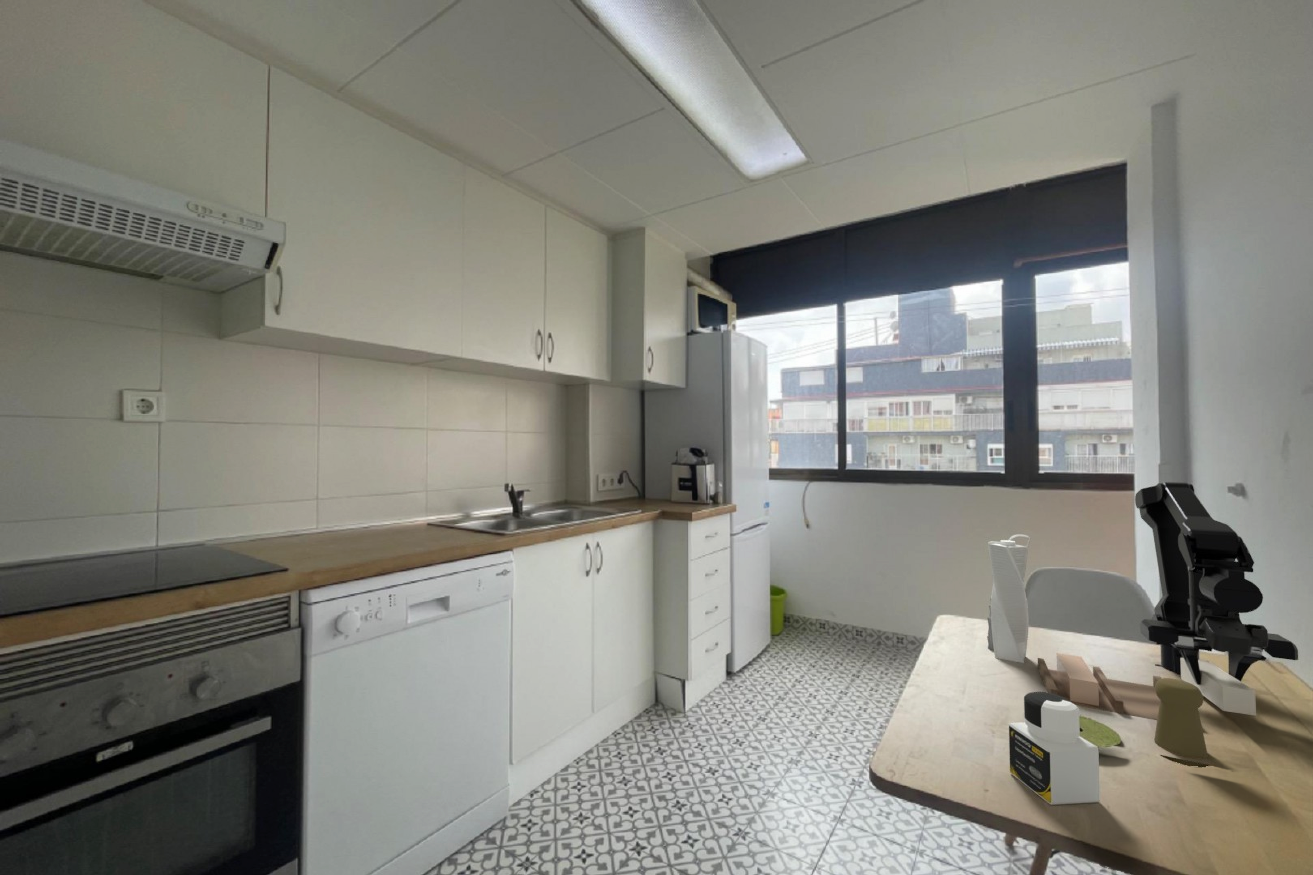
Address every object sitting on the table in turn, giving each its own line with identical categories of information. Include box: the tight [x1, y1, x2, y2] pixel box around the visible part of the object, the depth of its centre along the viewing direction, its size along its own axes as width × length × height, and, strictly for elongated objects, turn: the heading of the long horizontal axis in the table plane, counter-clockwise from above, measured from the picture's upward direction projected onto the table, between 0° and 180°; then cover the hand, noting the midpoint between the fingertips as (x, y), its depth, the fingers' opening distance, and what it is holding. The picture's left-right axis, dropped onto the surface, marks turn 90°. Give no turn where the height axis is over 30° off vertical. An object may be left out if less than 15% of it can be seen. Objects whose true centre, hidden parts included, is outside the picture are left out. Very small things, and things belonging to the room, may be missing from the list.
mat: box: [1079, 714, 1122, 748], centre depth 84 cm, size 11×11×2 cm
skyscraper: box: [986, 534, 1031, 664], centre depth 116 cm, size 8×8×28 cm
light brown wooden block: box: [1056, 652, 1099, 706], centre depth 100 cm, size 14×4×4 cm, turn 151°
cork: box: [1153, 677, 1210, 768], centre depth 80 cm, size 6×6×11 cm
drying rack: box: [1037, 657, 1162, 721], centre depth 98 cm, size 17×19×3 cm
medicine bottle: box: [1008, 691, 1101, 806], centre depth 72 cm, size 7×7×12 cm
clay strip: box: [1180, 658, 1257, 716], centre depth 94 cm, size 14×4×4 cm, turn 156°
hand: (1215, 686), depth 94 cm, fingers closed on clay strip, 4 cm apart
